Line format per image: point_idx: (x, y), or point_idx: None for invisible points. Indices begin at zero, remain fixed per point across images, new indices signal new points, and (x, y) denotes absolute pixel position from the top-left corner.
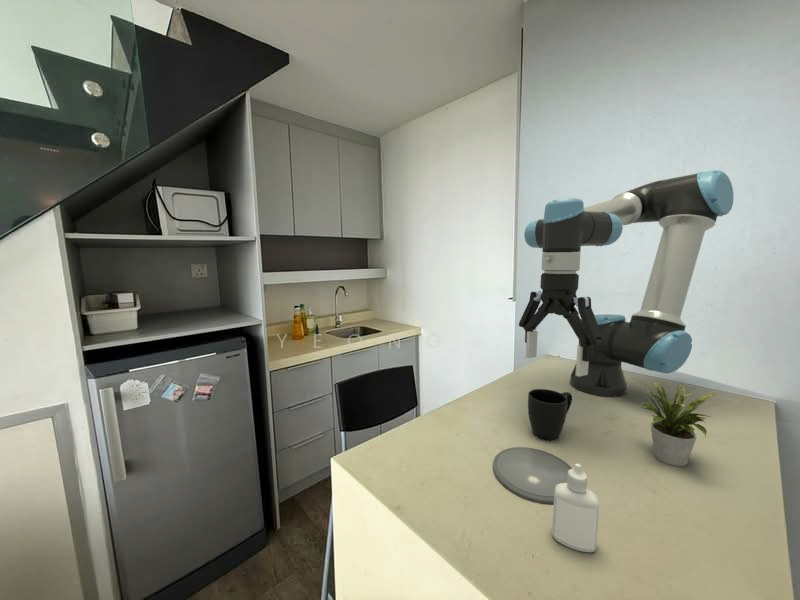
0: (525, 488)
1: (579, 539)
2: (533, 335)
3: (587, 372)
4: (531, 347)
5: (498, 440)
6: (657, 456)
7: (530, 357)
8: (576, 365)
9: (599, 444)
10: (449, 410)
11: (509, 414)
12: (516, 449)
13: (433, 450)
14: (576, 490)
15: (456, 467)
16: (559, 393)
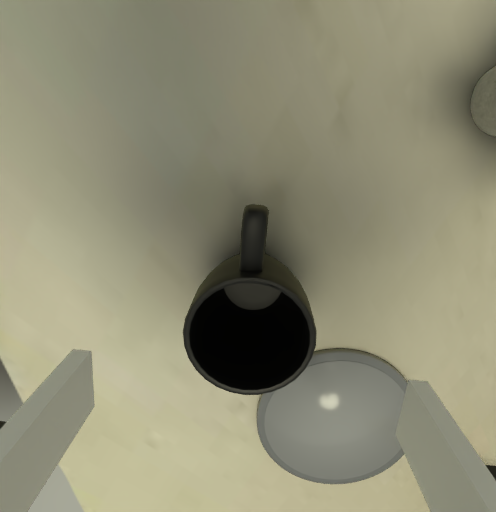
0: (359, 469)
1: None
2: (3, 503)
3: (431, 390)
4: (61, 434)
5: (213, 391)
6: (487, 133)
7: (93, 393)
8: (418, 480)
9: (359, 202)
10: None
11: (124, 277)
12: (271, 402)
13: (179, 506)
14: None
15: (243, 503)
16: (256, 283)
